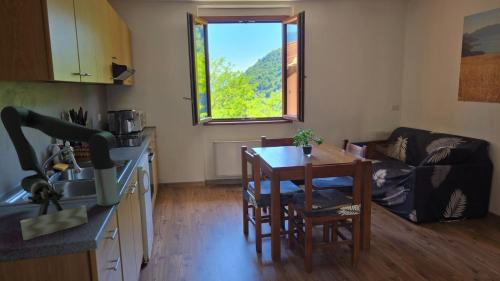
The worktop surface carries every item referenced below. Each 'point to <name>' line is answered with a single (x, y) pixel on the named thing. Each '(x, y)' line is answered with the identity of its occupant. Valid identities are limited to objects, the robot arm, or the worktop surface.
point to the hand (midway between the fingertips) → (51, 202)
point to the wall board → (53, 222)
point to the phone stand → (47, 197)
